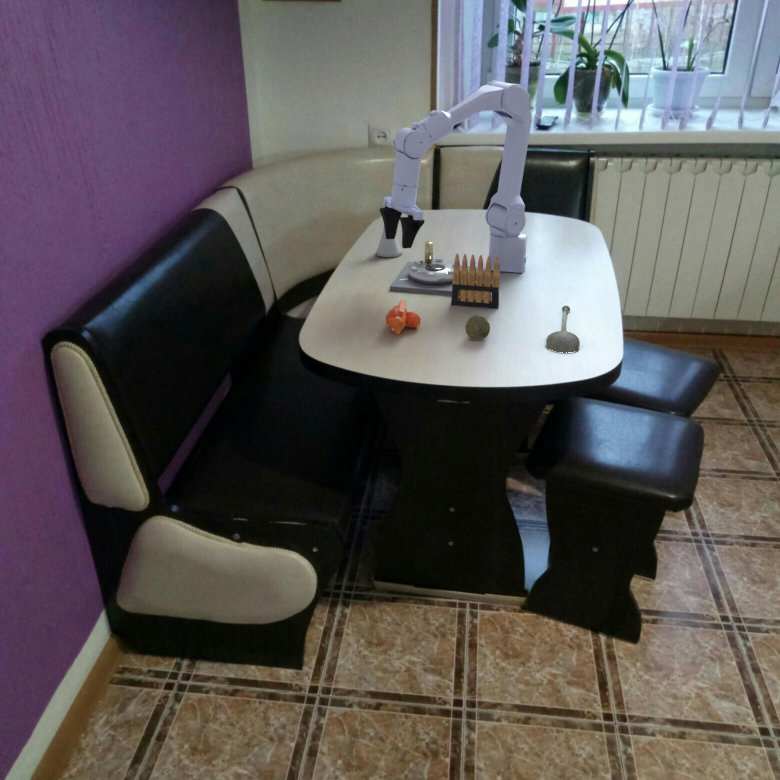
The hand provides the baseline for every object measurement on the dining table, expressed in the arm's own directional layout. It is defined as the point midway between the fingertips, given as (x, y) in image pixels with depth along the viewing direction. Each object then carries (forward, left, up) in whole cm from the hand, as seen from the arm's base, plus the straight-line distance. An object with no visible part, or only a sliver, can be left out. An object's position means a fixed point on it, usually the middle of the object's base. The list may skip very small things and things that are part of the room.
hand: (398, 243), depth 171 cm
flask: (+8, -23, -11) cm, 26 cm away
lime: (-23, +25, -11) cm, 36 cm away
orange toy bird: (-7, +23, -11) cm, 27 cm away
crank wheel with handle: (-8, -6, -9) cm, 13 cm away
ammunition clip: (-20, +8, -11) cm, 24 cm away
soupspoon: (-40, +18, -11) cm, 45 cm away
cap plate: (-8, -6, -11) cm, 14 cm away
